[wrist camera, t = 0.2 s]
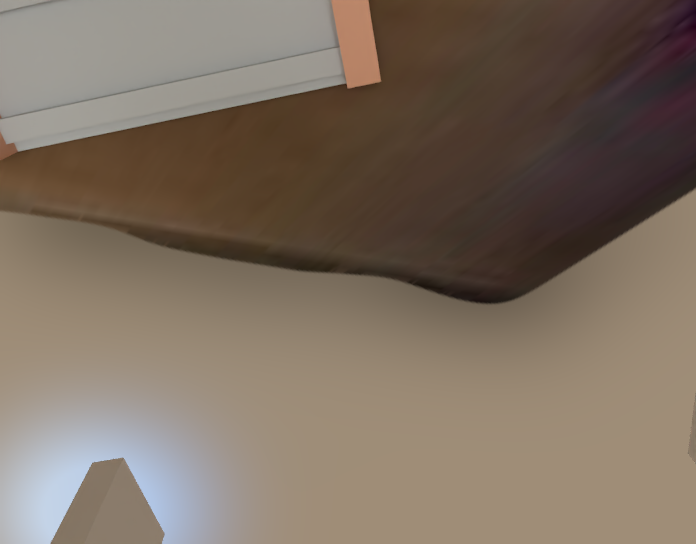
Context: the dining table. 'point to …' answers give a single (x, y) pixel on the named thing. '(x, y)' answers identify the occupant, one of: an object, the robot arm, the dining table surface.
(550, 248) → the dining table surface
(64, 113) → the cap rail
